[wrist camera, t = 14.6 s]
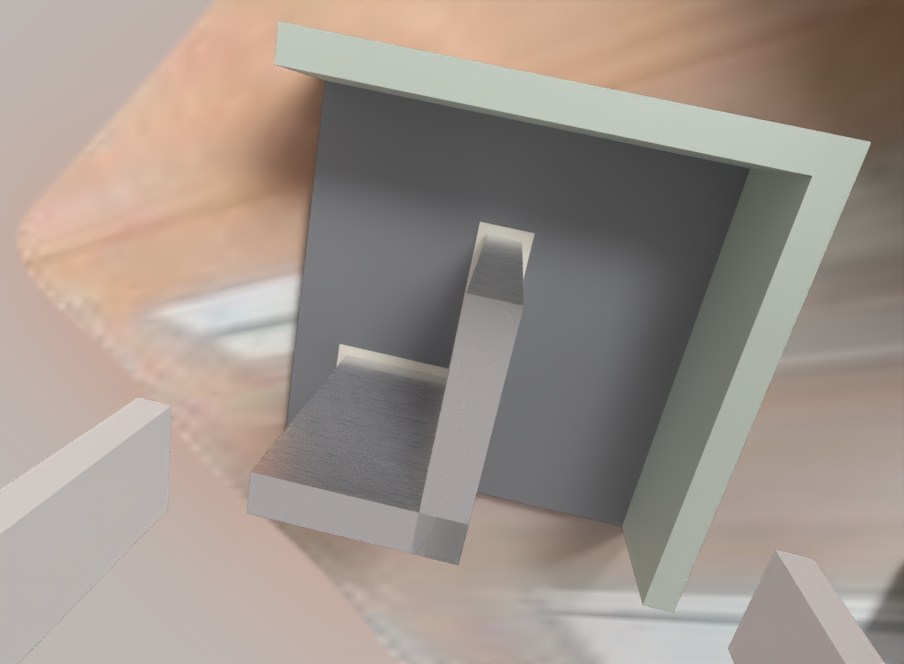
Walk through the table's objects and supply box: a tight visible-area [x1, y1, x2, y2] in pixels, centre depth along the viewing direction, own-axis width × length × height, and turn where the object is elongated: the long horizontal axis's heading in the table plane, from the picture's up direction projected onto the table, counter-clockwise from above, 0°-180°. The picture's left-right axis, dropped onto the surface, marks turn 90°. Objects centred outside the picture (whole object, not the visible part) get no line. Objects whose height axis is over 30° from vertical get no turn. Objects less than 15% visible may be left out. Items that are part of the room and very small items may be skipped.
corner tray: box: [275, 21, 871, 612], centre depth 28 cm, size 22×22×7 cm
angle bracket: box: [247, 234, 524, 565], centre depth 25 cm, size 10×8×12 cm
